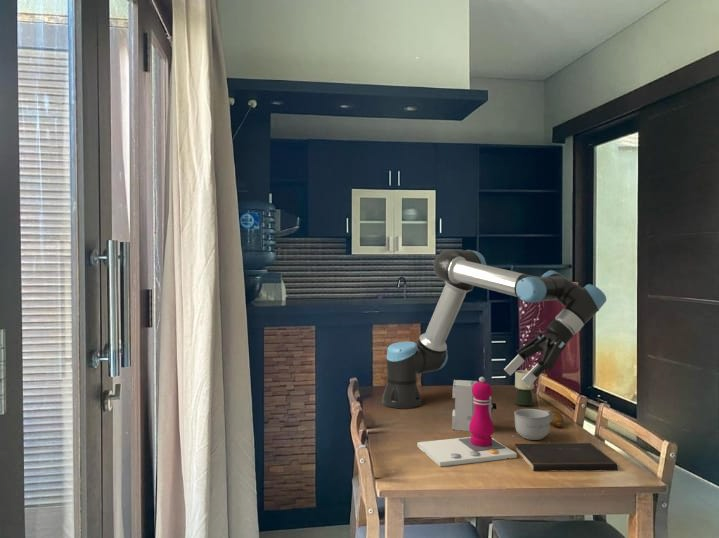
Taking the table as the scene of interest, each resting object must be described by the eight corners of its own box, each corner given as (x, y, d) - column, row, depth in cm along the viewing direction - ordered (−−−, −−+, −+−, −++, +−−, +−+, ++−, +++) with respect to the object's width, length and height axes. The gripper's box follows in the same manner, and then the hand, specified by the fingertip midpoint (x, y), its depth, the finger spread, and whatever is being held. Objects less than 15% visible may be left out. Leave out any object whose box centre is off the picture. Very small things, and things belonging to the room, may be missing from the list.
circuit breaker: (496, 433, 174) (496, 387, 173) (452, 429, 177) (452, 385, 176) (495, 425, 181) (495, 382, 181) (452, 422, 184) (453, 379, 183)
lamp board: (417, 446, 161) (417, 441, 161) (488, 438, 168) (488, 433, 168) (439, 466, 146) (439, 460, 146) (516, 457, 153) (516, 452, 153)
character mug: (539, 408, 201) (540, 374, 201) (521, 409, 200) (521, 375, 200) (527, 401, 212) (527, 368, 211) (509, 401, 211) (510, 368, 211)
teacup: (526, 444, 163) (527, 418, 163) (507, 433, 174) (507, 408, 174) (565, 440, 167) (565, 414, 167) (544, 429, 178) (544, 405, 177)
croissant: (570, 429, 178) (570, 414, 178) (550, 429, 178) (550, 414, 178) (554, 417, 192) (554, 403, 192) (535, 417, 192) (536, 403, 191)
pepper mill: (484, 437, 165) (485, 373, 164) (498, 445, 158) (499, 378, 157) (464, 440, 162) (465, 375, 162) (477, 448, 155) (478, 380, 155)
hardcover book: (514, 451, 159) (514, 443, 159) (590, 450, 160) (590, 443, 160) (533, 473, 143) (533, 464, 143) (617, 472, 144) (617, 464, 144)
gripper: (594, 342, 150) (542, 396, 149) (552, 330, 175) (508, 376, 173) (576, 324, 149) (524, 378, 148) (537, 314, 174) (492, 360, 173)
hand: (515, 377), depth 161 cm, fingers open, 13 cm apart
